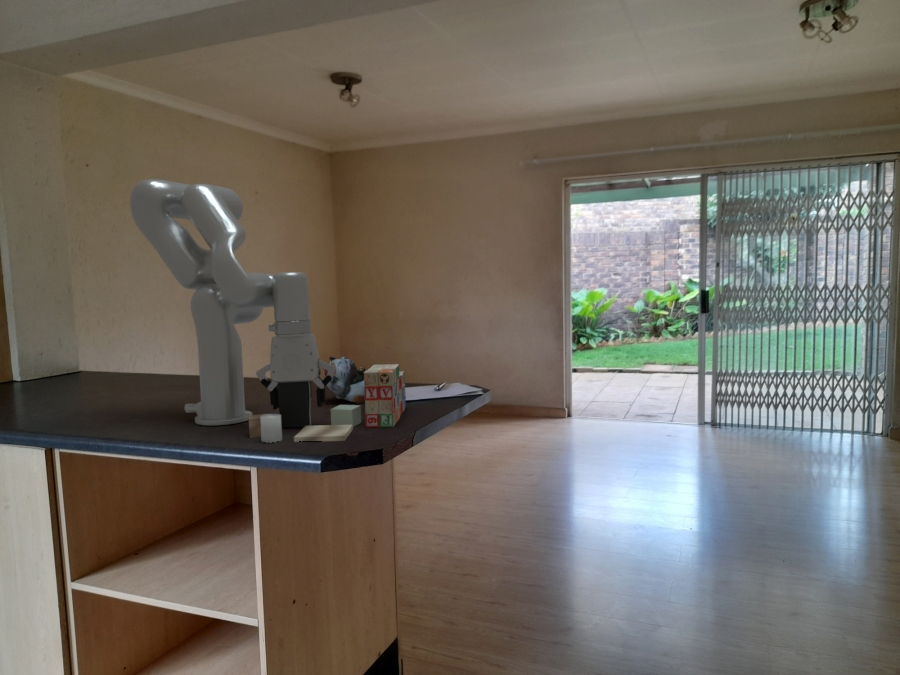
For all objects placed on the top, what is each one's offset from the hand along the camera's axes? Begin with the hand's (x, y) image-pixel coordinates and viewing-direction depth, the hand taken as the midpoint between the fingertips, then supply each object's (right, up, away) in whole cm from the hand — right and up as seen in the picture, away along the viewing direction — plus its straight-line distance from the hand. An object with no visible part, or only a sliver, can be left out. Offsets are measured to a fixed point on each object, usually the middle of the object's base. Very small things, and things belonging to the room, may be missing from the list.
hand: (298, 407), depth 135 cm
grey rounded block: (-3, -5, -11) cm, 13 cm away
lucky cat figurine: (+7, -2, +31) cm, 32 cm away
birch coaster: (+7, -5, -8) cm, 12 cm away
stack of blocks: (+19, -4, +9) cm, 21 cm away
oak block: (-7, -5, -6) cm, 10 cm away
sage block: (+10, -4, +2) cm, 11 cm away
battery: (-1, -5, +1) cm, 5 cm away
